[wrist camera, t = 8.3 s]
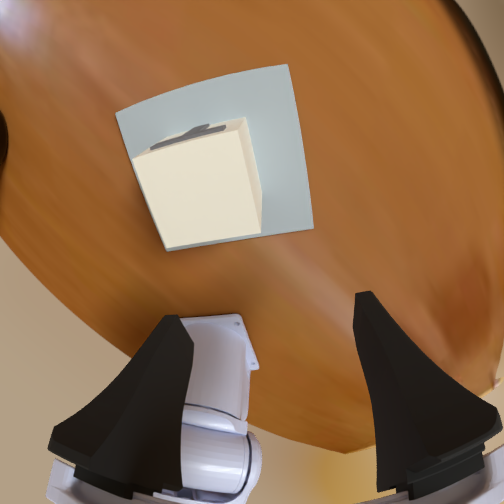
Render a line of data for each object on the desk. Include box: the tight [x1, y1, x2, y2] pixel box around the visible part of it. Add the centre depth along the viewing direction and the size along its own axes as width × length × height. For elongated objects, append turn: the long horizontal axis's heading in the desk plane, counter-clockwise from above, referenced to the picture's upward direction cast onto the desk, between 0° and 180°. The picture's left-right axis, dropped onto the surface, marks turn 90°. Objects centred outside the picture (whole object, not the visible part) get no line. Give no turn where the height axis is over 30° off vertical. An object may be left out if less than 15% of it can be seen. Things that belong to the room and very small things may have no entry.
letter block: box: [132, 117, 262, 248], centre depth 14 cm, size 5×5×5 cm
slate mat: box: [115, 64, 314, 252], centre depth 16 cm, size 11×11×1 cm
